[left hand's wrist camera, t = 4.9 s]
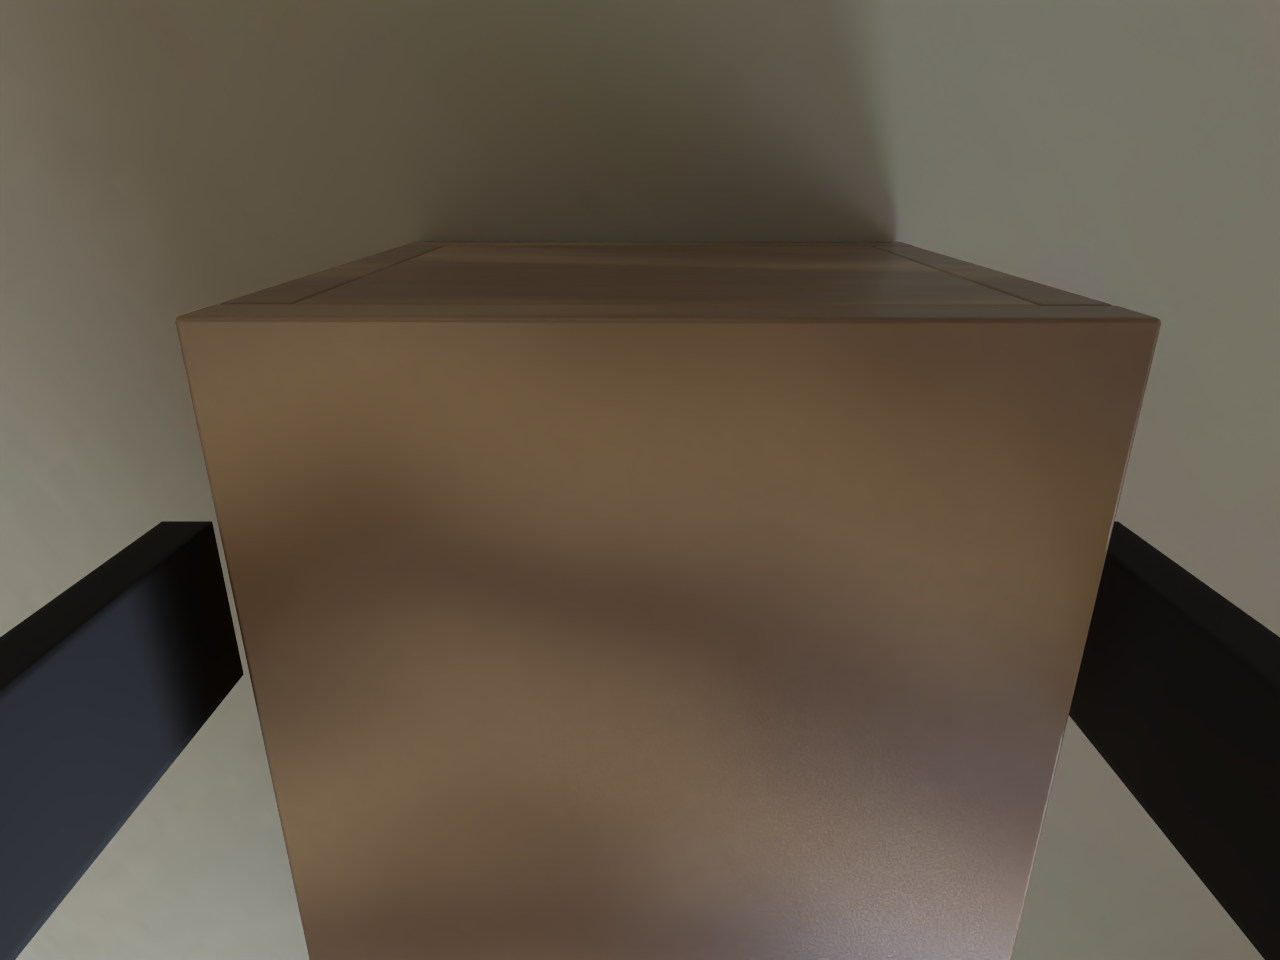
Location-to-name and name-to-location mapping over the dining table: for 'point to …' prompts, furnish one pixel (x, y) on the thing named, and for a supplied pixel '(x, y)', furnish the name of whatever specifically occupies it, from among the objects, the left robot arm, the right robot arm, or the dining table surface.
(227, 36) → the dining table surface
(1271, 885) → the left robot arm
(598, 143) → the dining table surface
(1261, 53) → the dining table surface
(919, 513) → the cabinet
